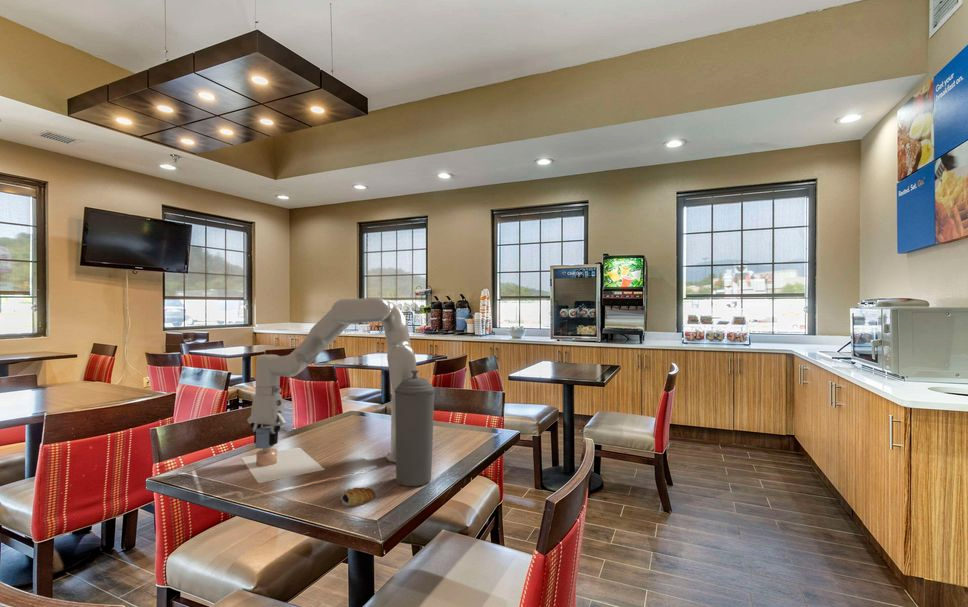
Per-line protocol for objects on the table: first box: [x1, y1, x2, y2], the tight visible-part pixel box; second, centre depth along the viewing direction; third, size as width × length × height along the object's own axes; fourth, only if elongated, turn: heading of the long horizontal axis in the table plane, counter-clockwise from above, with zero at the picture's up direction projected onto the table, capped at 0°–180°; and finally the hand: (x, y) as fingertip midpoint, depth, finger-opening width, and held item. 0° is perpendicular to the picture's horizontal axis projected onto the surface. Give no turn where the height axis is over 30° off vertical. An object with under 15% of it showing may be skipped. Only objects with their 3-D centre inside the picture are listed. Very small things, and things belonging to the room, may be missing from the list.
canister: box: [395, 369, 436, 487], centre depth 140 cm, size 13×13×35 cm
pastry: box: [340, 487, 377, 508], centre depth 125 cm, size 9×7×4 cm
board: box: [240, 447, 326, 484], centre depth 152 cm, size 30×20×1 cm, turn 38°
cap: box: [255, 425, 275, 450], centre depth 152 cm, size 6×6×6 cm
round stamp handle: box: [255, 447, 278, 466], centre depth 152 cm, size 6×6×11 cm
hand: (265, 442), depth 152 cm, fingers closed on cap, 5 cm apart
